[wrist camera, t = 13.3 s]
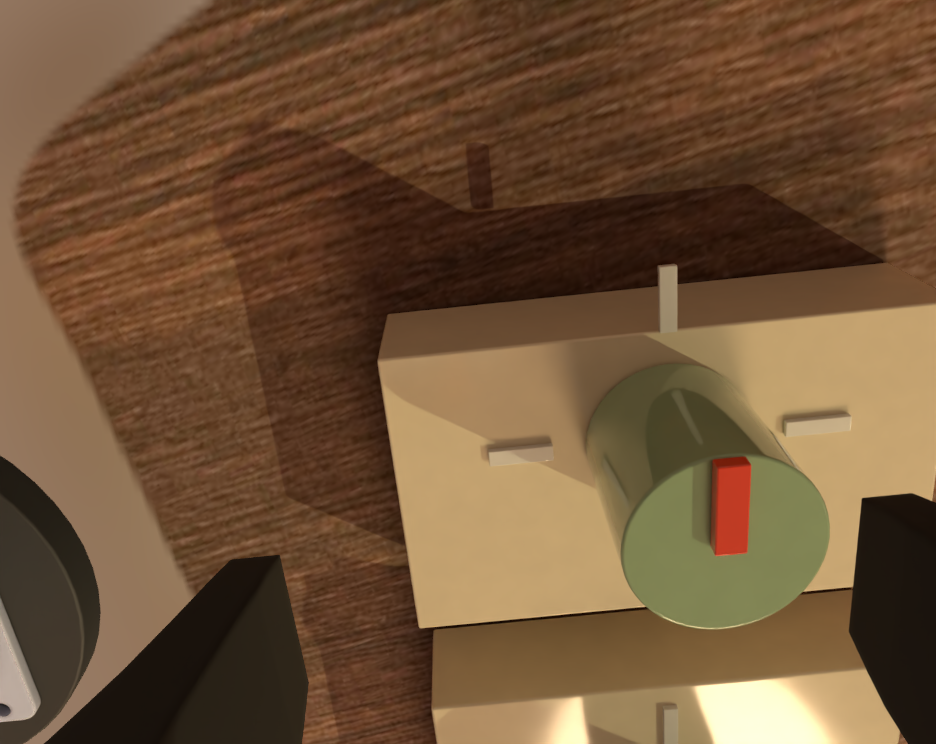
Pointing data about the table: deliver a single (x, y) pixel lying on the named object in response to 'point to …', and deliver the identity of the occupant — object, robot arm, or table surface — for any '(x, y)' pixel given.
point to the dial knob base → (659, 681)
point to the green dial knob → (703, 499)
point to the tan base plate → (594, 375)
